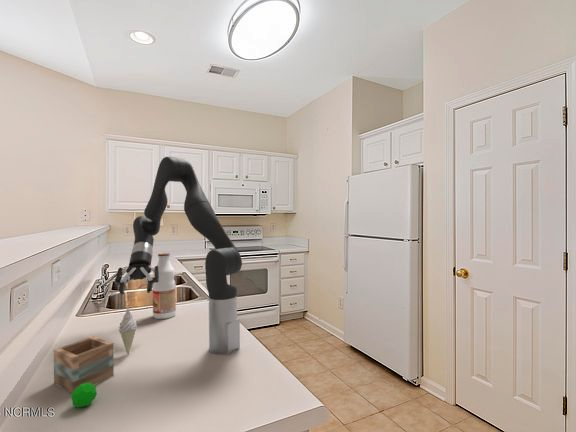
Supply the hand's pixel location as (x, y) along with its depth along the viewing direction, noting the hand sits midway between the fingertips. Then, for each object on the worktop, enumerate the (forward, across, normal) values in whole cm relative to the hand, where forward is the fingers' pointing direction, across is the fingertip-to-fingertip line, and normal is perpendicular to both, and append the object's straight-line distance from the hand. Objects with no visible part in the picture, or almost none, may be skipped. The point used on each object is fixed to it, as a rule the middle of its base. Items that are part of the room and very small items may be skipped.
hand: (135, 292), depth 107 cm
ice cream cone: (+20, 0, +5) cm, 20 cm away
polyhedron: (+38, -4, -14) cm, 41 cm away
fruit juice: (-7, +6, +31) cm, 33 cm away
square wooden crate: (+29, -8, -5) cm, 30 cm away
